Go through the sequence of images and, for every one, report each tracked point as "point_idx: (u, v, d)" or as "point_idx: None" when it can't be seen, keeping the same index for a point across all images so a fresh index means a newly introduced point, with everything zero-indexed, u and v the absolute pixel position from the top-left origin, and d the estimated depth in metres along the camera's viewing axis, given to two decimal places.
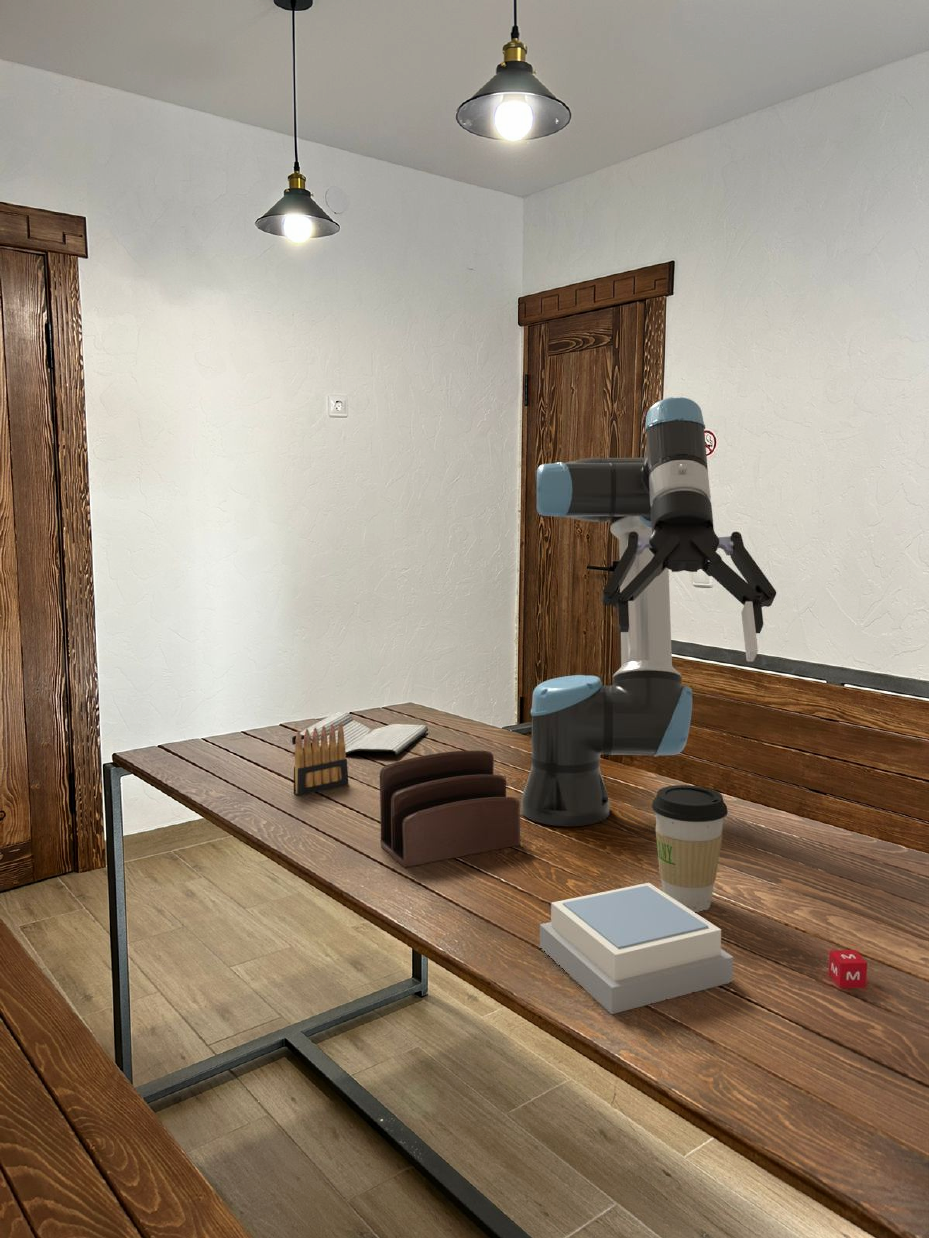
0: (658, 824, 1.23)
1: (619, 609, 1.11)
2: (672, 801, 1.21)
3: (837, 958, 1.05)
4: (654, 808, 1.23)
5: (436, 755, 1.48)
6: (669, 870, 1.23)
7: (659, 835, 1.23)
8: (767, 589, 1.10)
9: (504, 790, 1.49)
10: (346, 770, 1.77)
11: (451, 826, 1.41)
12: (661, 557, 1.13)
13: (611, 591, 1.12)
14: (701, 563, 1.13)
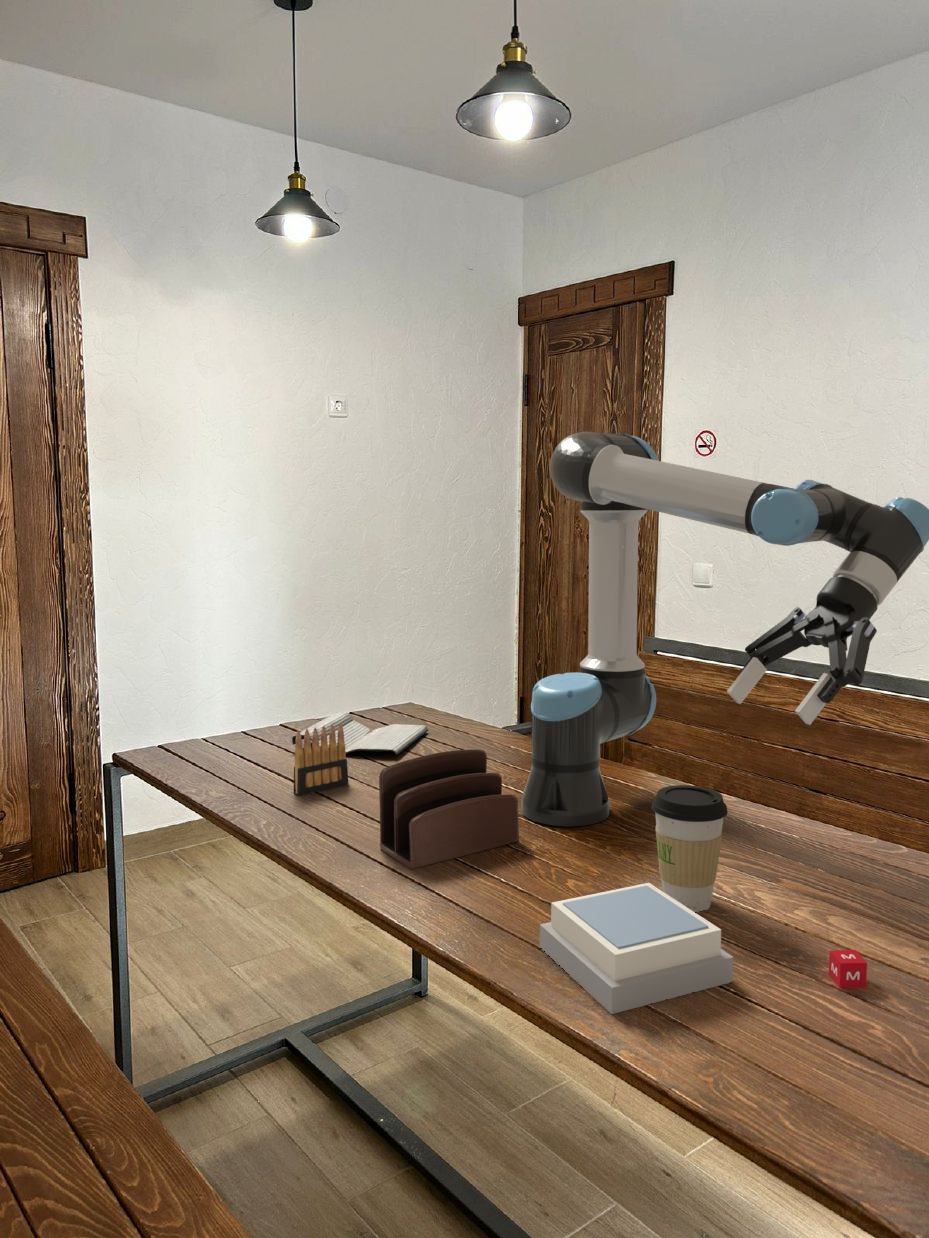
0: (658, 824, 1.23)
1: (838, 690, 1.21)
2: (672, 801, 1.21)
3: (837, 958, 1.05)
4: (654, 808, 1.23)
5: (433, 755, 1.48)
6: (669, 870, 1.23)
7: (659, 835, 1.23)
8: None
9: (500, 788, 1.51)
10: (346, 770, 1.77)
11: (455, 825, 1.41)
12: None
13: None
14: (810, 641, 1.31)
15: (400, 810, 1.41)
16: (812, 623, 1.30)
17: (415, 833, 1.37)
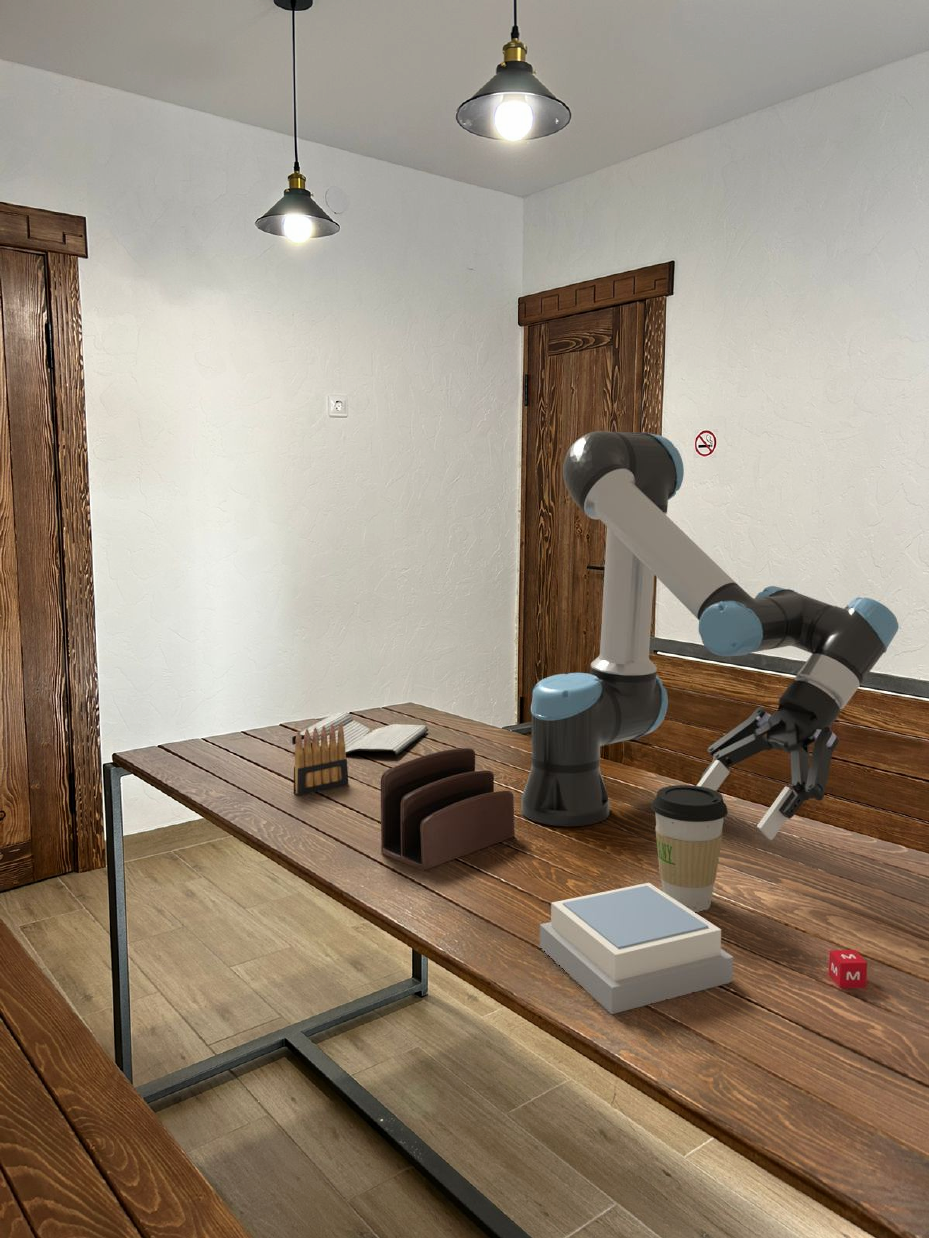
0: (658, 824, 1.23)
1: (800, 804, 1.19)
2: (672, 801, 1.21)
3: (837, 958, 1.05)
4: (654, 808, 1.23)
5: (429, 756, 1.48)
6: (669, 870, 1.23)
7: (659, 835, 1.23)
8: None
9: (492, 785, 1.52)
10: (346, 770, 1.77)
11: (460, 824, 1.42)
12: None
13: None
14: (773, 746, 1.29)
15: (406, 812, 1.40)
16: (774, 728, 1.28)
17: (426, 834, 1.37)
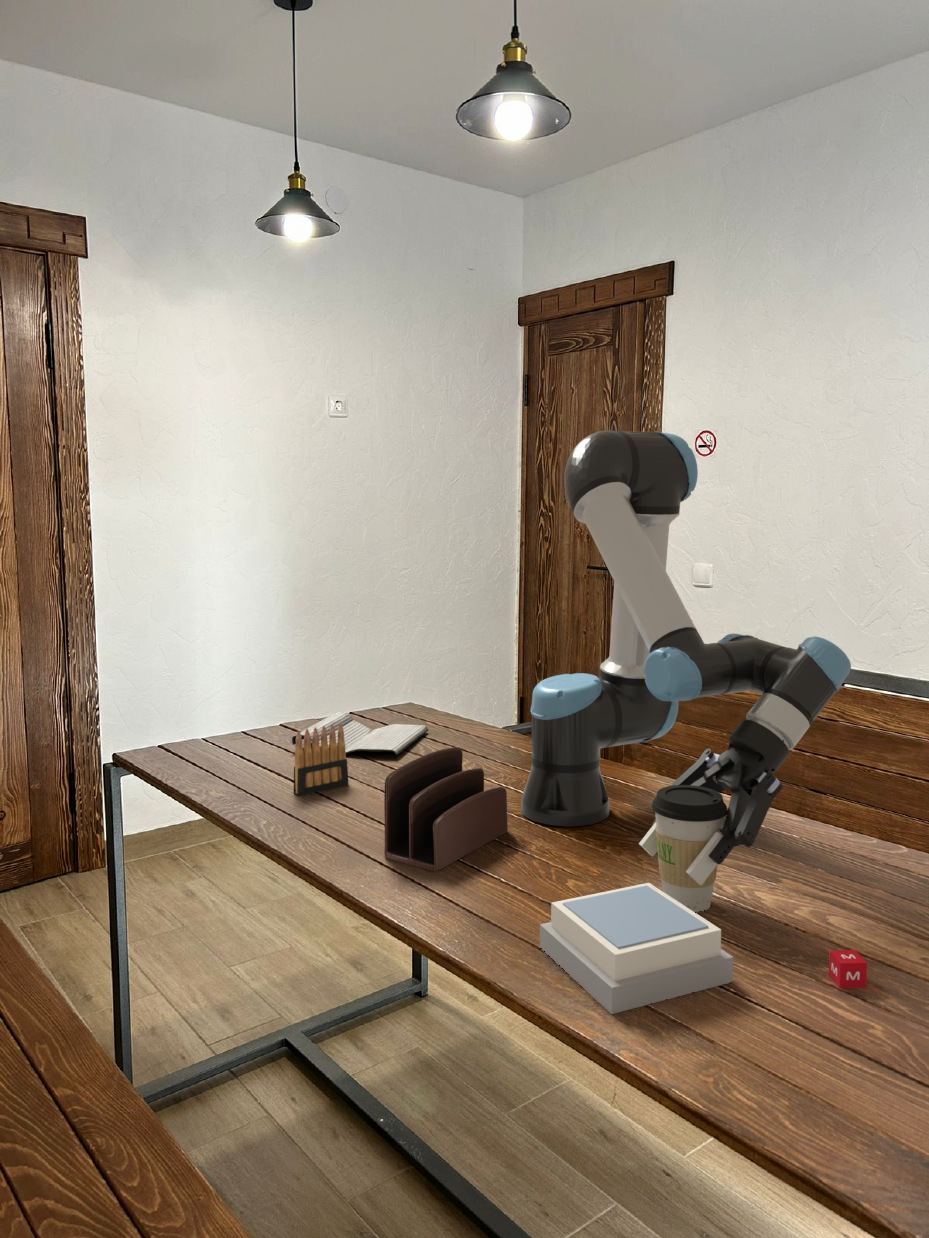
0: (658, 824, 1.23)
1: None
2: (672, 801, 1.21)
3: (837, 958, 1.05)
4: (654, 808, 1.23)
5: (425, 757, 1.47)
6: (669, 870, 1.23)
7: (659, 835, 1.23)
8: None
9: (483, 782, 1.54)
10: (346, 770, 1.77)
11: (465, 823, 1.42)
12: None
13: None
14: None
15: (414, 815, 1.39)
16: (724, 768, 1.27)
17: (438, 835, 1.36)
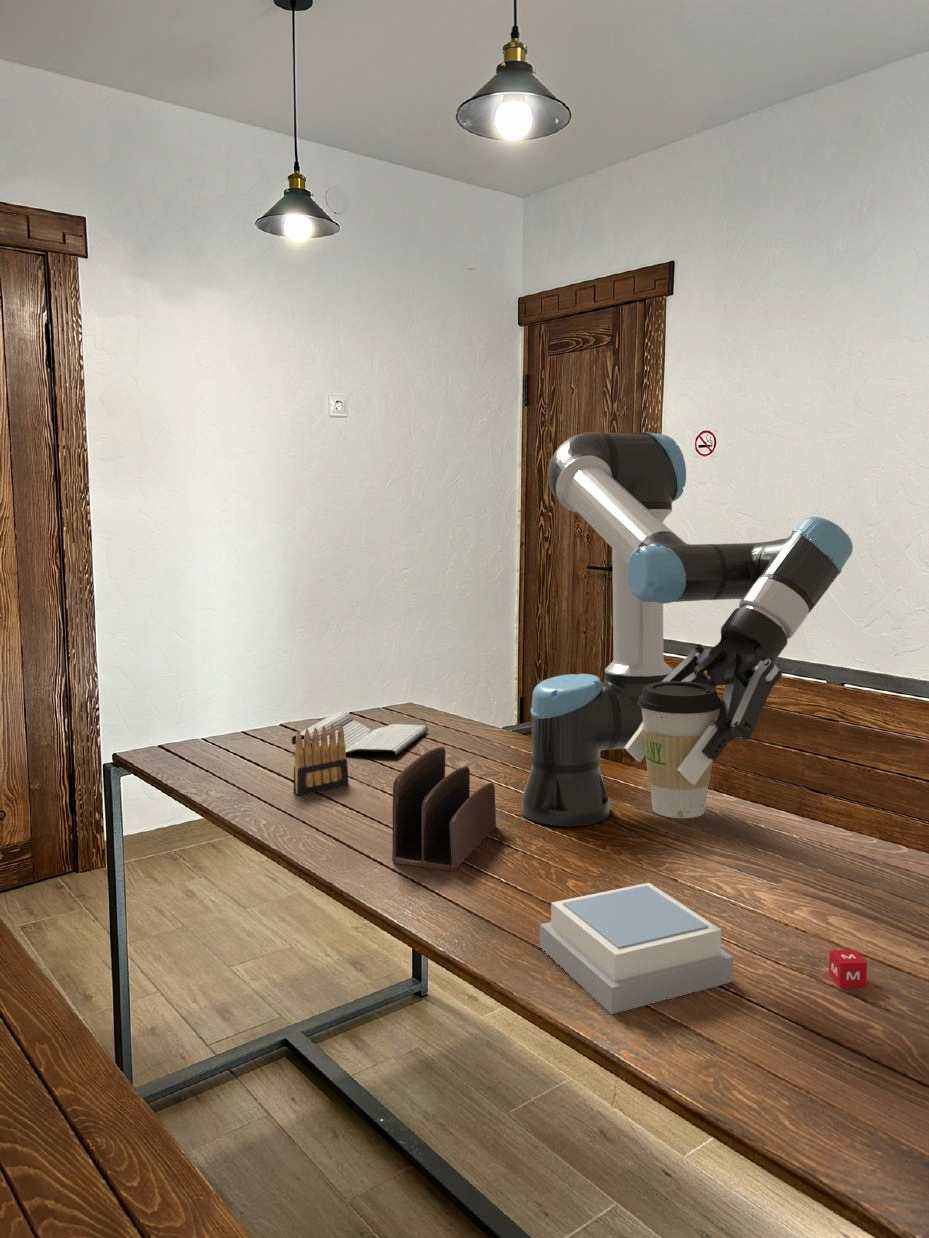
0: (646, 721, 1.11)
1: (725, 744, 1.07)
2: (661, 693, 1.09)
3: (837, 958, 1.05)
4: (640, 703, 1.11)
5: (422, 758, 1.46)
6: (659, 771, 1.10)
7: (647, 733, 1.11)
8: None
9: (469, 780, 1.55)
10: (346, 770, 1.77)
11: (470, 821, 1.43)
12: None
13: None
14: (714, 681, 1.16)
15: (426, 816, 1.38)
16: (716, 660, 1.15)
17: (454, 834, 1.37)
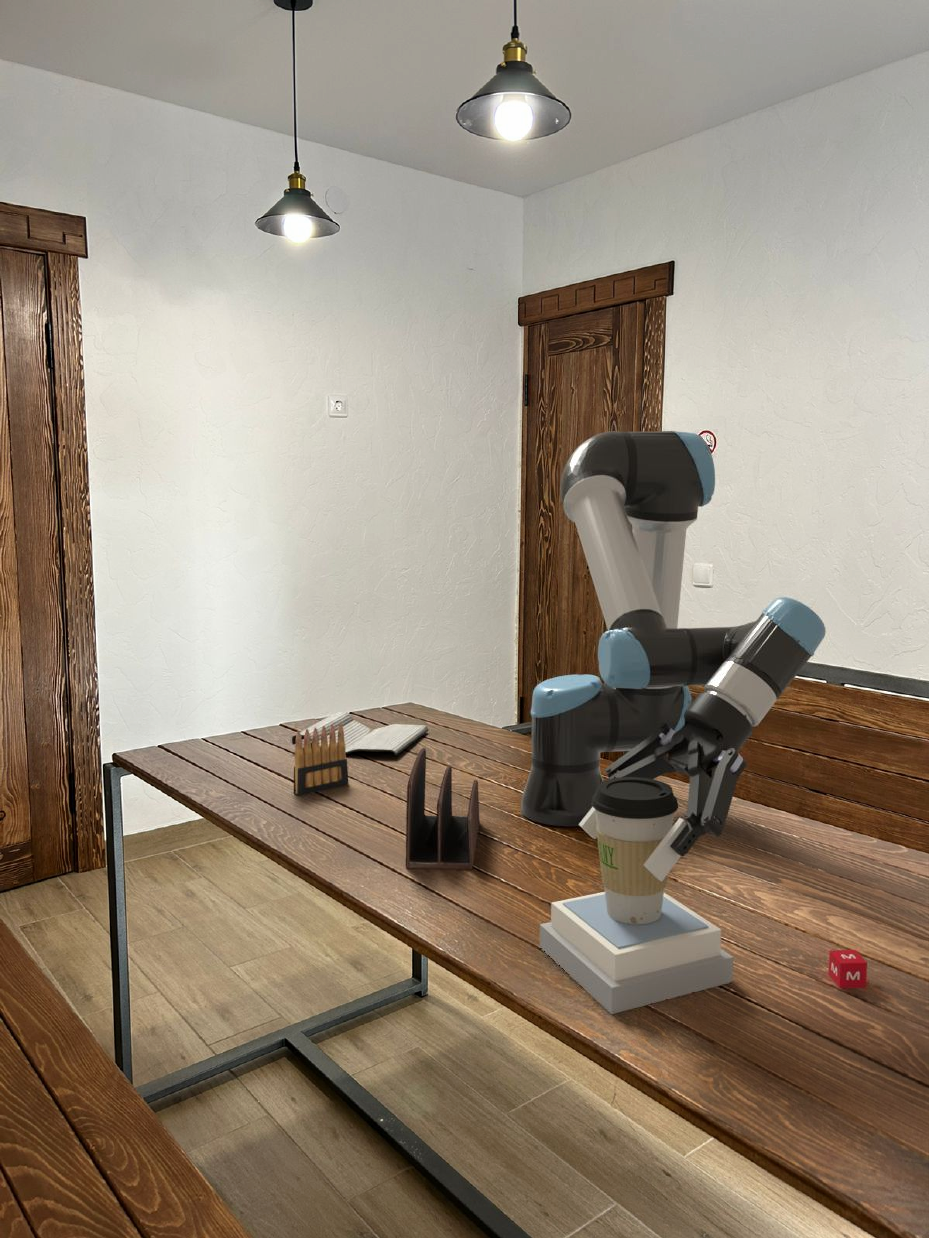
0: (599, 822, 1.07)
1: (696, 839, 1.01)
2: (613, 795, 1.04)
3: (837, 958, 1.05)
4: (593, 804, 1.07)
5: (419, 760, 1.45)
6: (611, 875, 1.06)
7: (599, 835, 1.07)
8: None
9: (451, 778, 1.56)
10: (346, 770, 1.77)
11: None
12: None
13: None
14: None
15: None
16: (676, 747, 1.10)
17: None
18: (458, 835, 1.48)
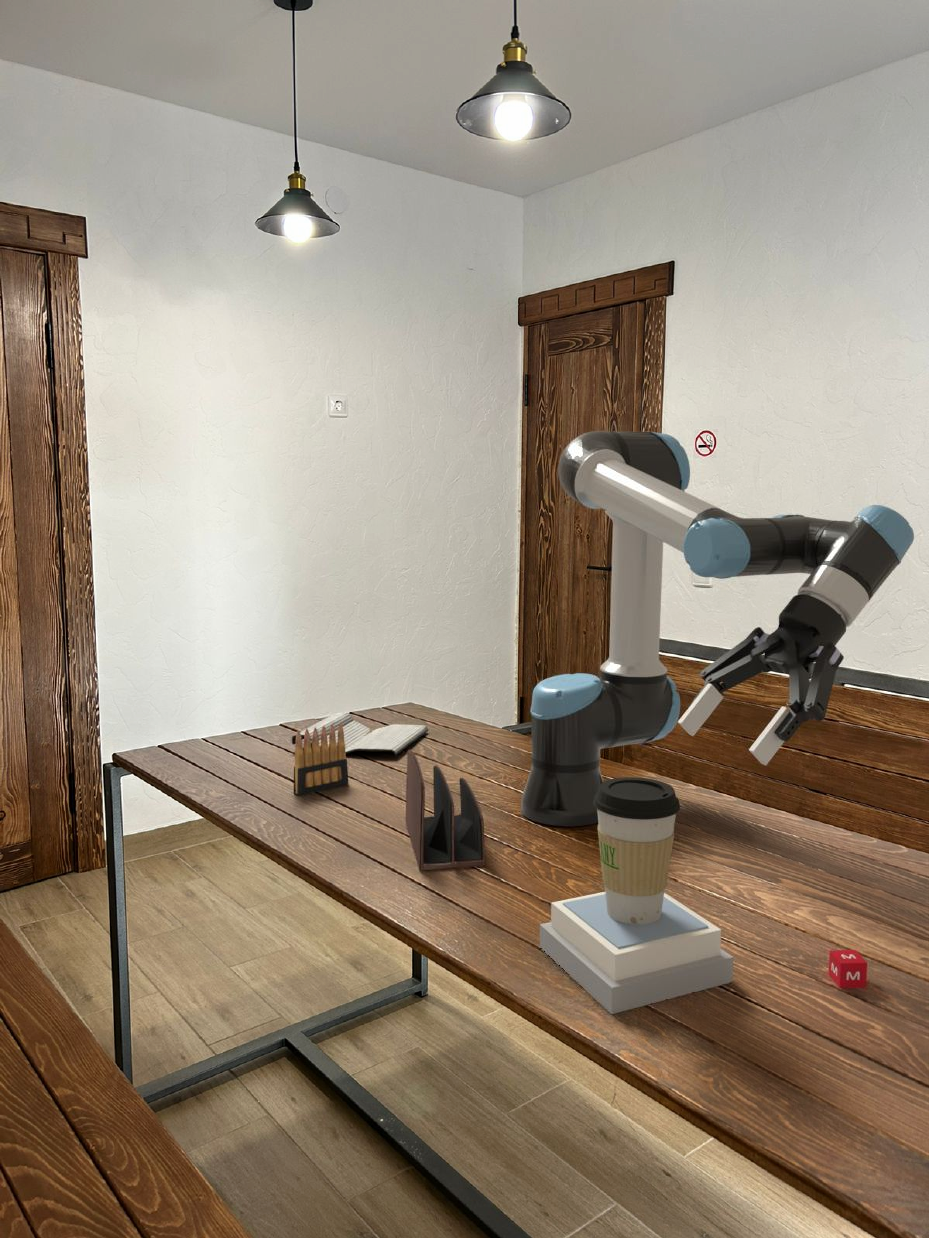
0: (600, 822, 1.07)
1: (798, 726, 1.07)
2: (615, 795, 1.04)
3: (837, 958, 1.05)
4: (595, 803, 1.07)
5: None
6: (612, 875, 1.06)
7: (601, 835, 1.06)
8: None
9: None
10: (346, 770, 1.77)
11: None
12: None
13: None
14: (771, 667, 1.17)
15: None
16: (773, 647, 1.16)
17: None
18: (455, 834, 1.48)
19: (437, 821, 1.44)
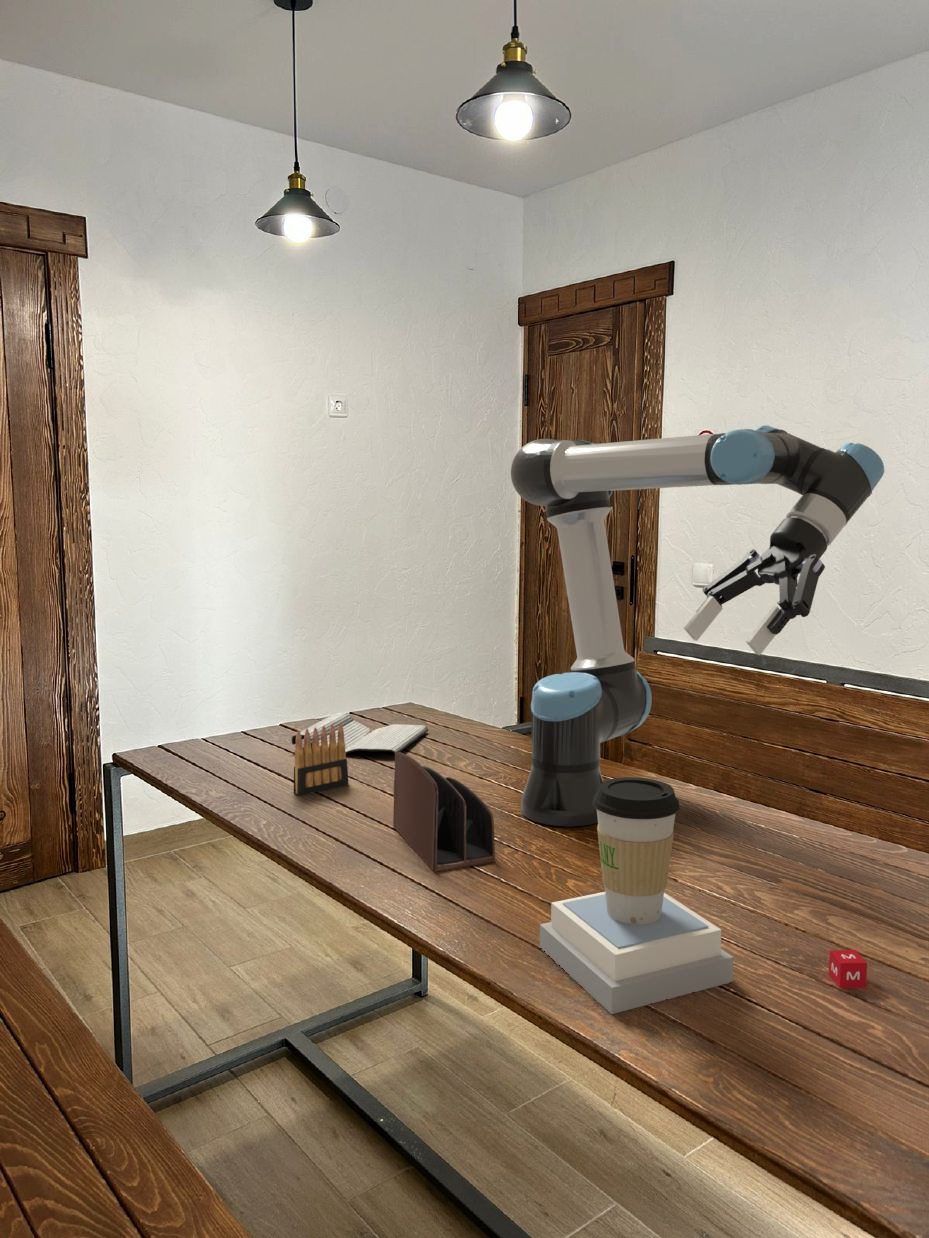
0: (600, 822, 1.07)
1: (787, 621, 1.27)
2: (615, 795, 1.04)
3: (837, 958, 1.05)
4: (595, 804, 1.07)
5: (418, 763, 1.44)
6: (612, 875, 1.06)
7: (601, 835, 1.06)
8: None
9: None
10: (346, 770, 1.77)
11: None
12: None
13: None
14: None
15: None
16: (765, 562, 1.36)
17: None
18: None
19: (439, 821, 1.44)
